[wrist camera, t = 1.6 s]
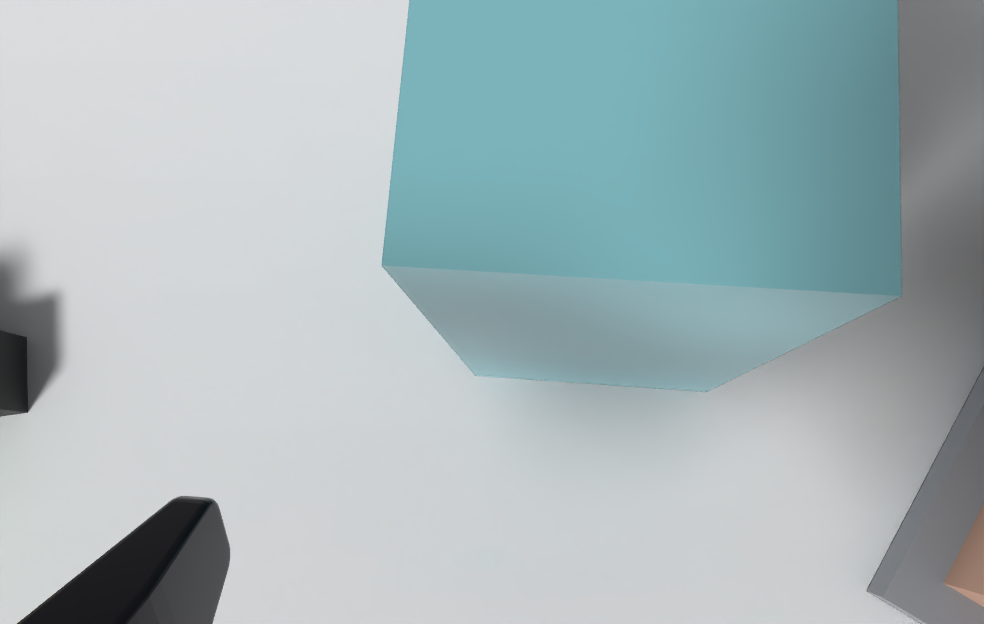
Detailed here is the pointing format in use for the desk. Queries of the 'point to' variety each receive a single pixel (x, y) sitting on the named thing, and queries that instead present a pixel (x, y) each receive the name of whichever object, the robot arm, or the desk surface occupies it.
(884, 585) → the tower base
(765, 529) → the desk surface
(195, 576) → the robot arm
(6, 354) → the building blocks
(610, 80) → the teal brick
